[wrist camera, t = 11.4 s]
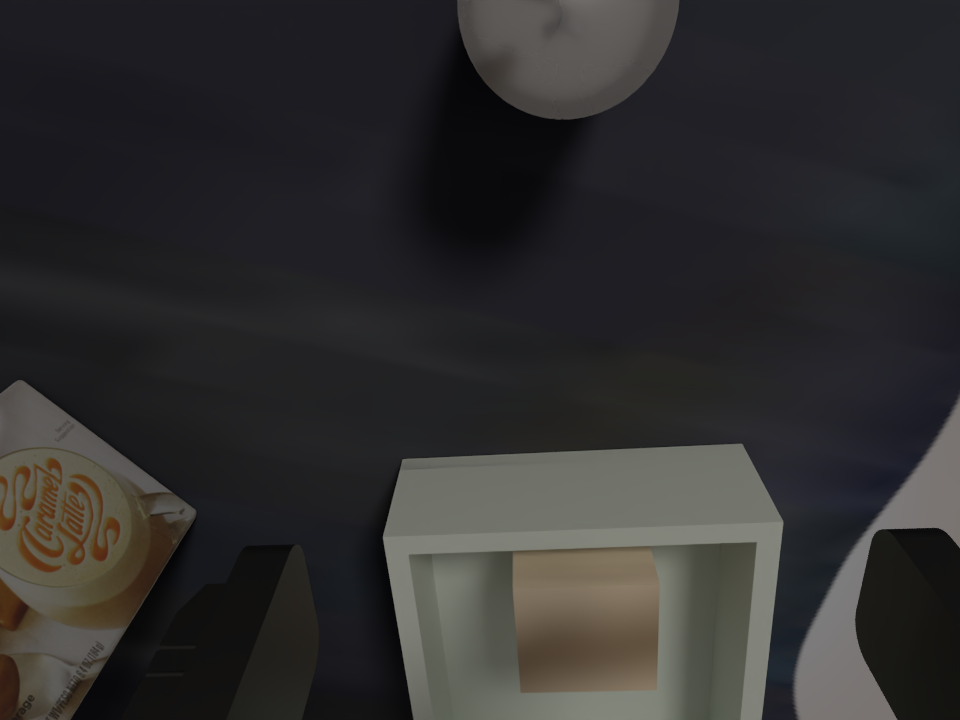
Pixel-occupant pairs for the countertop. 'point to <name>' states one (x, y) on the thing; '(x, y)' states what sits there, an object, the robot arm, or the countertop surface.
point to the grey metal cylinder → (566, 50)
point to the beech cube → (586, 619)
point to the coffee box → (70, 553)
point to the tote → (584, 524)
